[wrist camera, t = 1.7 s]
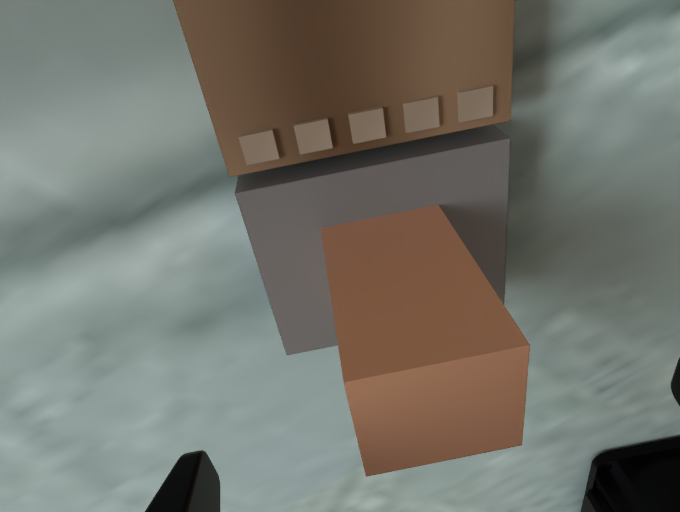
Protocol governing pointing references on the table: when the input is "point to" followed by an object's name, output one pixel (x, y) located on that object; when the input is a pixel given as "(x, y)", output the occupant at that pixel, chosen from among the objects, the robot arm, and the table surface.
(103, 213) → the table surface
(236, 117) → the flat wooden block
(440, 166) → the stub
